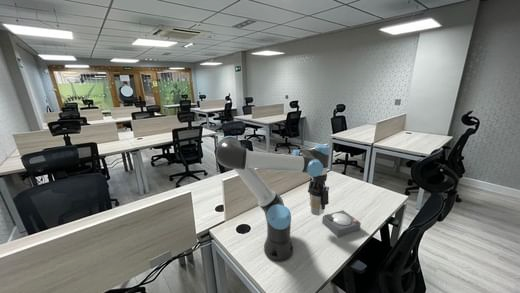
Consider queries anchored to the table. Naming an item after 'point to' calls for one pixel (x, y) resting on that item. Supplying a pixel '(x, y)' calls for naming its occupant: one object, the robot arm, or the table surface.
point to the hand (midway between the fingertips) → (316, 209)
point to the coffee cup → (315, 201)
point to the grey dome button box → (341, 223)
